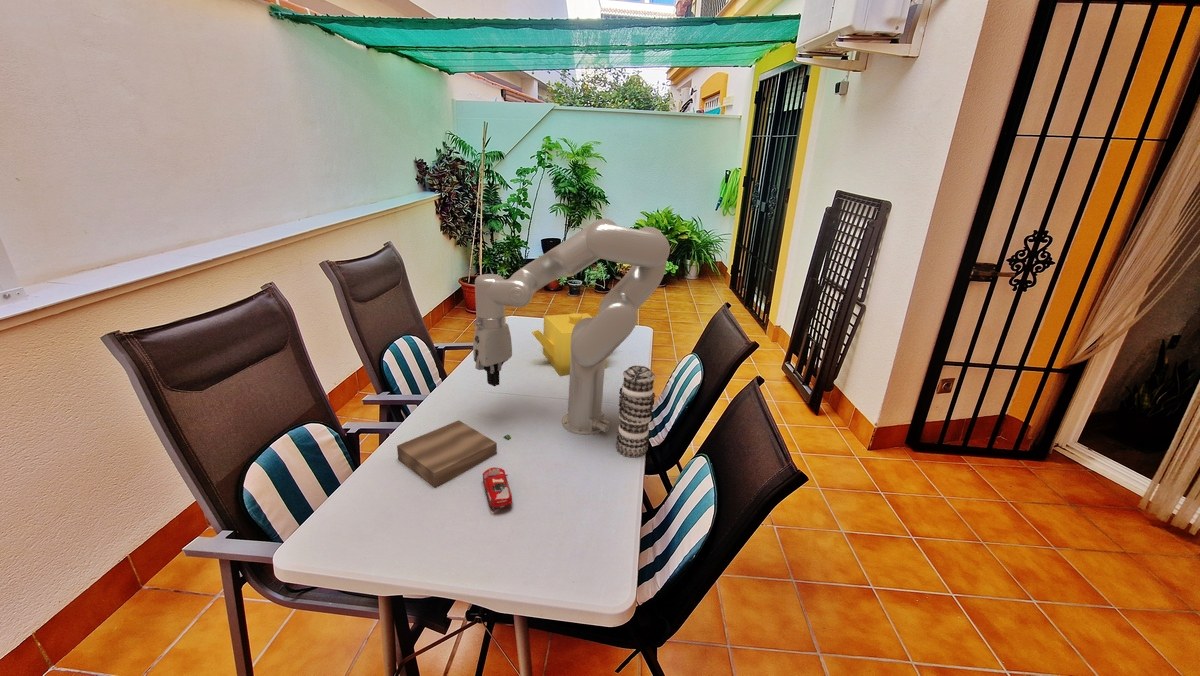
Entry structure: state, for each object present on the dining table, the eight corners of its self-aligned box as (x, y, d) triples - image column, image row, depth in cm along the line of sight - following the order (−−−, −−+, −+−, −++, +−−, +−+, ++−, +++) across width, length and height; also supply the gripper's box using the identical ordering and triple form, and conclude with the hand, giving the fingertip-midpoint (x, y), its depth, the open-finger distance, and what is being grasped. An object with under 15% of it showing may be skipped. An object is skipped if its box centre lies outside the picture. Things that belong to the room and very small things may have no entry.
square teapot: (519, 356, 189) (520, 303, 182) (591, 349, 201) (594, 299, 194) (546, 396, 159) (548, 335, 152) (628, 386, 171) (634, 328, 164)
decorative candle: (620, 467, 125) (628, 378, 117) (609, 447, 134) (616, 363, 125) (653, 463, 128) (663, 376, 119) (640, 444, 136) (649, 361, 128)
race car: (481, 476, 117) (480, 462, 116) (504, 472, 119) (504, 458, 117) (488, 513, 106) (488, 499, 104) (514, 509, 108) (513, 494, 106)
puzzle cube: (504, 439, 135) (504, 432, 134) (511, 443, 133) (511, 436, 132) (492, 446, 131) (492, 438, 131) (499, 450, 130) (499, 442, 129)
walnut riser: (496, 456, 126) (496, 442, 125) (435, 487, 113) (434, 473, 112) (459, 432, 136) (458, 420, 134) (398, 459, 122) (397, 445, 121)
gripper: (476, 331, 122) (480, 397, 128) (522, 318, 133) (522, 380, 139) (458, 324, 126) (462, 388, 133) (503, 312, 137) (505, 372, 144)
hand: (493, 384), depth 136 cm, fingers closed
